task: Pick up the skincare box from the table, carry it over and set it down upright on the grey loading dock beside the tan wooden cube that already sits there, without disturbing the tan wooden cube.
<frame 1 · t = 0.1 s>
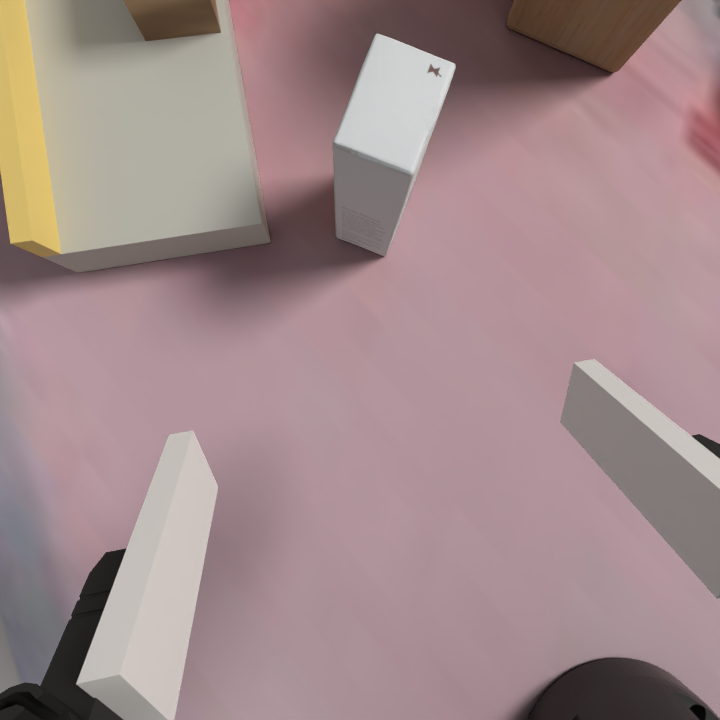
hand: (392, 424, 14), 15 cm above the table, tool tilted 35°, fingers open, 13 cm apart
skincare box: (372, 214, 30), on the table
dock: (155, 128, 29), on the table
wooden block: (577, 3, 32), on the table
tan wooden cube: (178, 2, 27), point 3 cm above the table, touching dock
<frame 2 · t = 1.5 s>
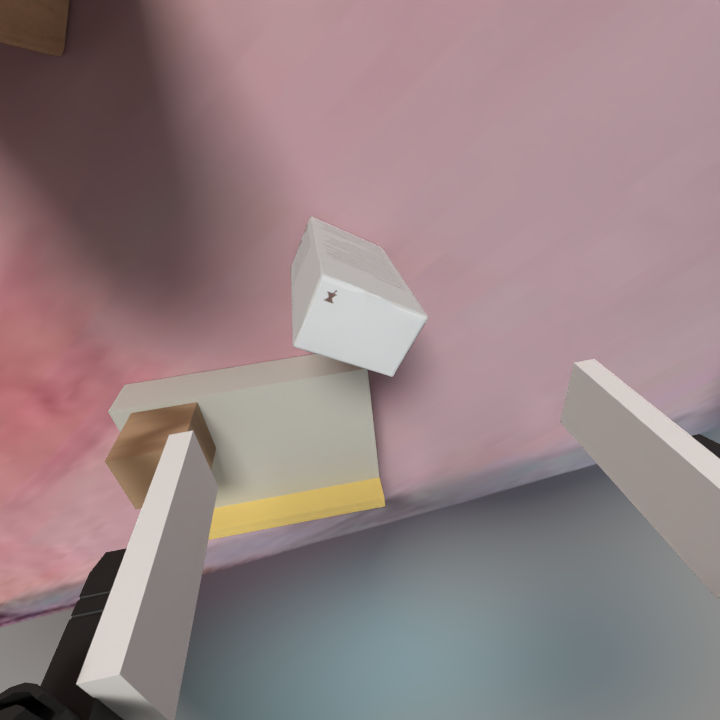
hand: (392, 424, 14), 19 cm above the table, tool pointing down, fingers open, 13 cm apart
skincare box: (337, 257, 30), on the table
dock: (264, 426, 37), on the table
tan wooden cube: (175, 431, 32), point 3 cm above the table, touching dock
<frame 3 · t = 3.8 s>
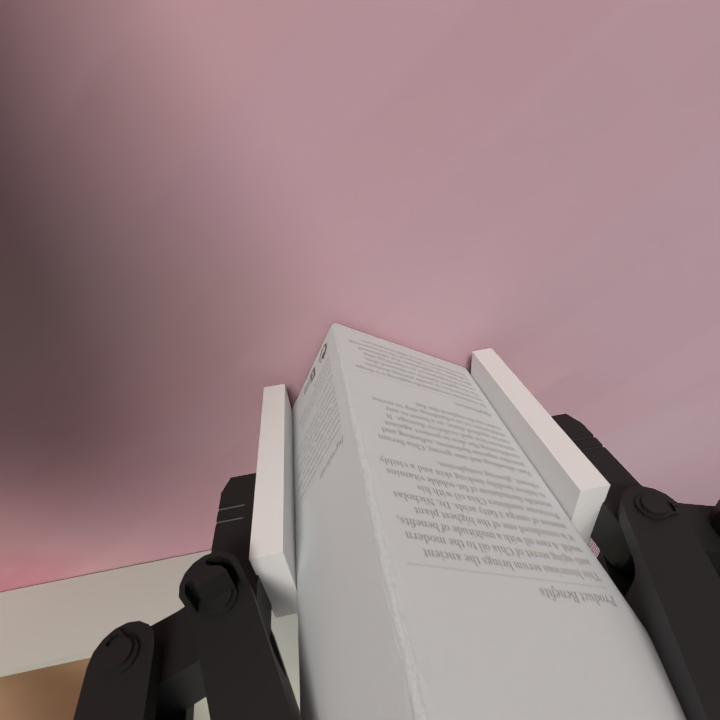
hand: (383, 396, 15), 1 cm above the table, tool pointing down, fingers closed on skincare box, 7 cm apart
skincare box: (379, 384, 16), on the table, touching gripper
dock: (248, 618, 23), on the table
tan wooden cube: (83, 688, 18), point 3 cm above the table, touching dock
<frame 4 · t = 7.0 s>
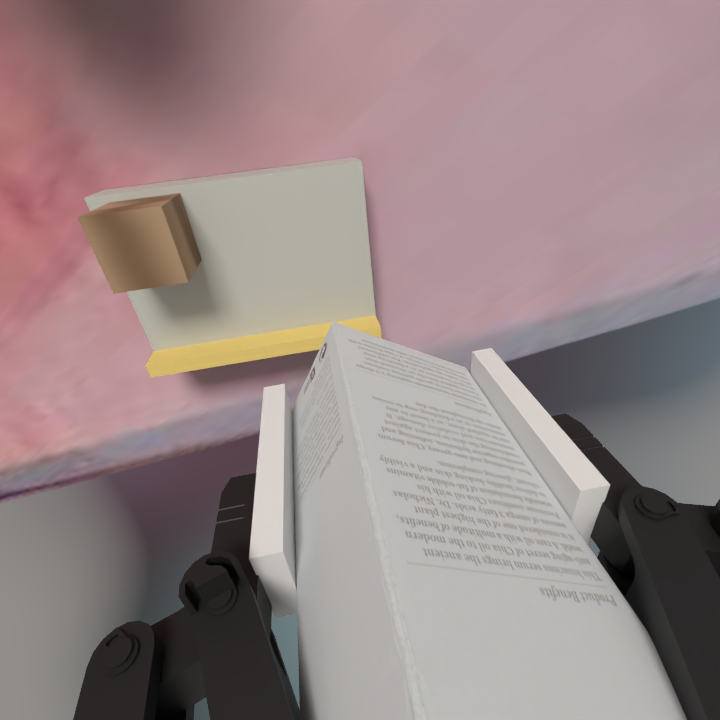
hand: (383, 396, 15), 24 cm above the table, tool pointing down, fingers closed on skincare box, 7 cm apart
skincare box: (379, 384, 16), point 23 cm above the table, touching gripper
dock: (253, 258, 35), on the table
tan wooden cube: (157, 232, 30), point 3 cm above the table, touching dock
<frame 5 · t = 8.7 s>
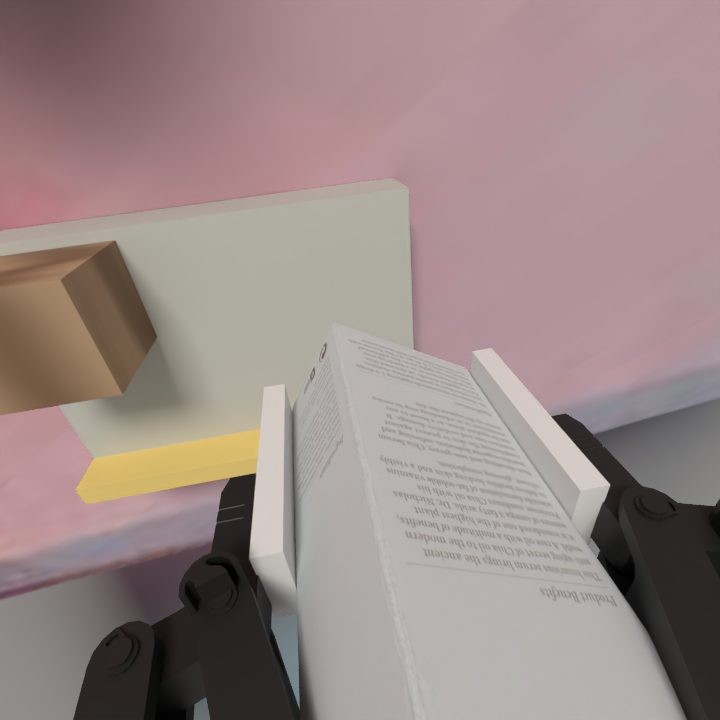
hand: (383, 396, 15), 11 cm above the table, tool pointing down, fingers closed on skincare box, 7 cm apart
skincare box: (379, 384, 16), point 10 cm above the table, touching gripper
dock: (240, 321, 24), on the table
tan wooden cube: (84, 299, 19), point 3 cm above the table, touching dock
when the fingers open (6 cm above the table, at t = 10.1 s): skincare box drops 1 cm, resting on dock.
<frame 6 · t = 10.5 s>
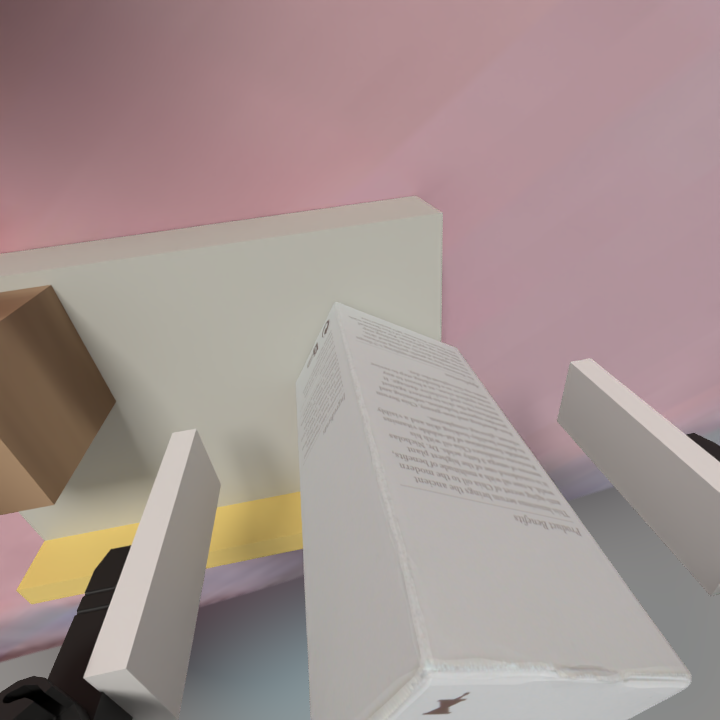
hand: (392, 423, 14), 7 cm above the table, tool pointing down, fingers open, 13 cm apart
skincare box: (376, 362, 17), point 3 cm above the table, touching dock
dock: (226, 370, 20), on the table
tan wooden cube: (15, 359, 14), point 3 cm above the table, touching dock
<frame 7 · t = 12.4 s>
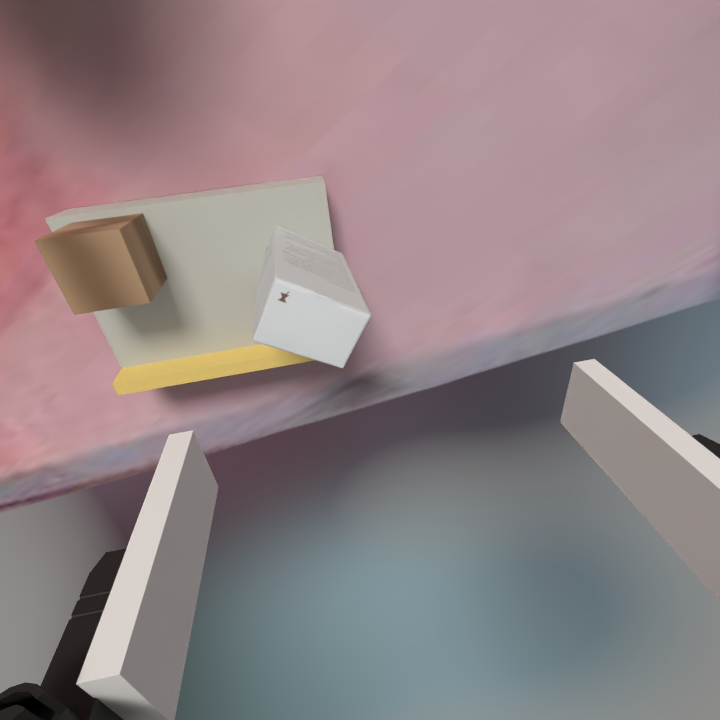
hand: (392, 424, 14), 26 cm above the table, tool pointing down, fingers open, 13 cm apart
skincare box: (301, 262, 33), point 3 cm above the table, touching dock
dock: (222, 274, 35), on the table
tan wooden cube: (121, 252, 30), point 3 cm above the table, touching dock
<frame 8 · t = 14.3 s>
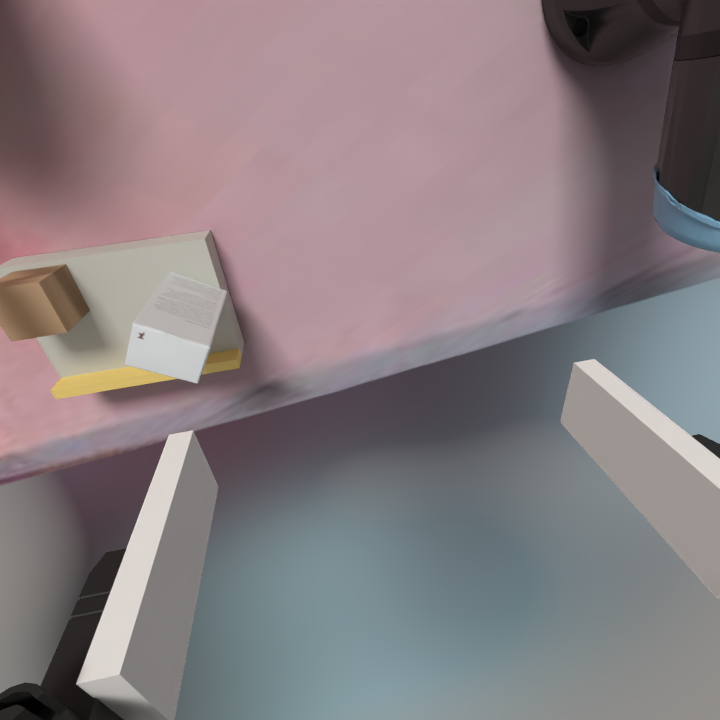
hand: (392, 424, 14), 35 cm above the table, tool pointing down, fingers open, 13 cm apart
skincare box: (195, 297, 42), point 3 cm above the table, touching dock
dock: (140, 304, 45), on the table
tan wooden cube: (52, 291, 39), point 3 cm above the table, touching dock
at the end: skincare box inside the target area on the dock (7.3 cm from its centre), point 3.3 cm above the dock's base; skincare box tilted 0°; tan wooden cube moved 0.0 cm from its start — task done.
